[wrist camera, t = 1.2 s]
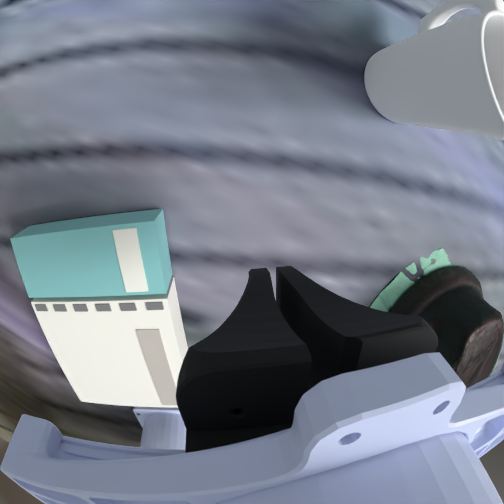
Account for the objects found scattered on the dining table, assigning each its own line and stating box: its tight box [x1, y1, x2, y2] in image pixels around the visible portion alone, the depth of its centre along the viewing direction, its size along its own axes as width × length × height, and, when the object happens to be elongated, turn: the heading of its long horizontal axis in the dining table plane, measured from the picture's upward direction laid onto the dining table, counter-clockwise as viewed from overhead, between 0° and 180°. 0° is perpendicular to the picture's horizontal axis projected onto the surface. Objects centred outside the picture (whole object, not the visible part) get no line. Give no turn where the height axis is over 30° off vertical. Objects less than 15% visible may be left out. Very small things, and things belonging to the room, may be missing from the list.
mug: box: [364, 0, 504, 141], centre depth 12 cm, size 10×7×12 cm, turn 169°
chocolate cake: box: [370, 248, 504, 388], centre depth 24 cm, size 20×20×9 cm
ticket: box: [31, 277, 188, 408], centre depth 22 cm, size 12×12×3 cm
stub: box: [10, 209, 172, 298], centre depth 19 cm, size 5×12×3 cm, turn 92°
